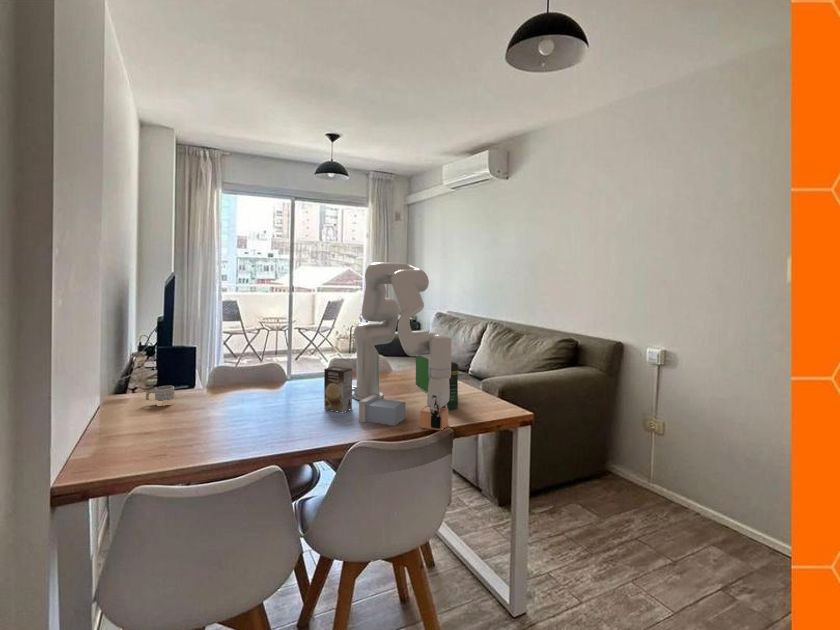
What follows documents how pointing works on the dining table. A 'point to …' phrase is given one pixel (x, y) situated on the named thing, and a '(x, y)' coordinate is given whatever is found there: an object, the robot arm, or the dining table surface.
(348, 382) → the coffee box
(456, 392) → the coffee jar
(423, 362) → the hardback book
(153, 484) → the dining table surface
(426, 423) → the peach rectangular block
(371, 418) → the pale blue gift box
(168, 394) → the mug
